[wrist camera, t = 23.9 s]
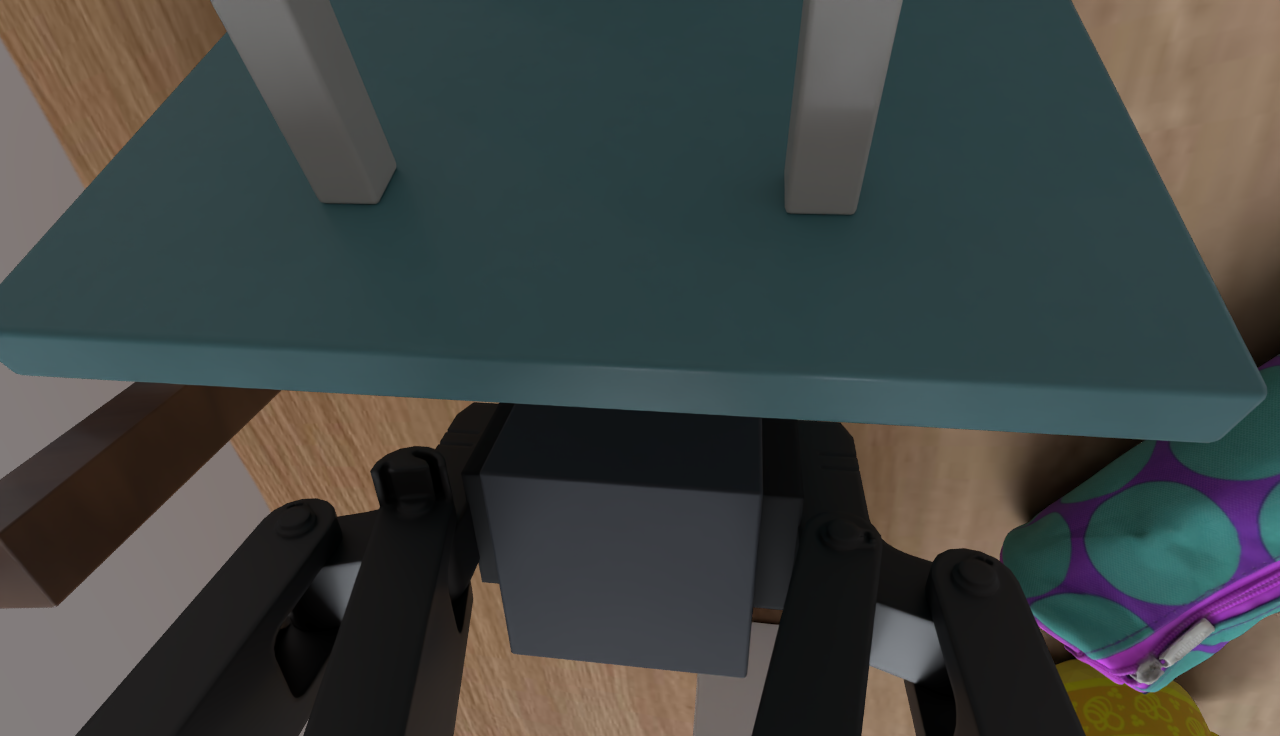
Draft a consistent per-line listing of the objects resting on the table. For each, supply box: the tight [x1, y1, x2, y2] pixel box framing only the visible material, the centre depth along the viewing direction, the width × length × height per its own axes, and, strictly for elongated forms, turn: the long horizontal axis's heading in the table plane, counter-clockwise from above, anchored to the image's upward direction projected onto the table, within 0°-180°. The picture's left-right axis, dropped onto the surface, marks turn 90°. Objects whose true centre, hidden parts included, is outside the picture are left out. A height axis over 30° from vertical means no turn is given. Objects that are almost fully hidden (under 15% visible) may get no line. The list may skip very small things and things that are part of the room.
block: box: [480, 403, 763, 678], centre depth 14 cm, size 4×4×4 cm
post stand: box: [0, 382, 281, 609], centre depth 29 cm, size 7×7×18 cm
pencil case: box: [1000, 354, 1280, 694], centre depth 29 cm, size 21×9×10 cm, turn 146°
